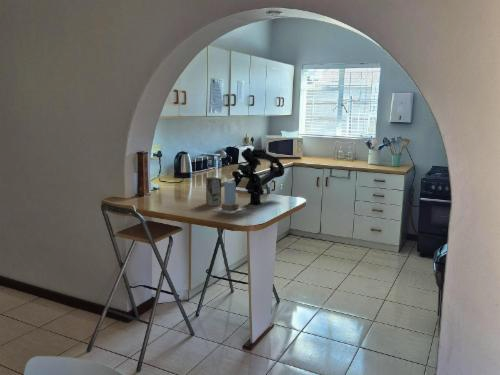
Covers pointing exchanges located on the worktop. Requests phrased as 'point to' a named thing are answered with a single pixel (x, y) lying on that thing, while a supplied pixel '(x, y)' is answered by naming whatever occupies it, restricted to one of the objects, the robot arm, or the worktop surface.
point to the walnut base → (229, 208)
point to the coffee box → (213, 191)
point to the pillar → (229, 192)
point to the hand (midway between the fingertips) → (239, 188)
